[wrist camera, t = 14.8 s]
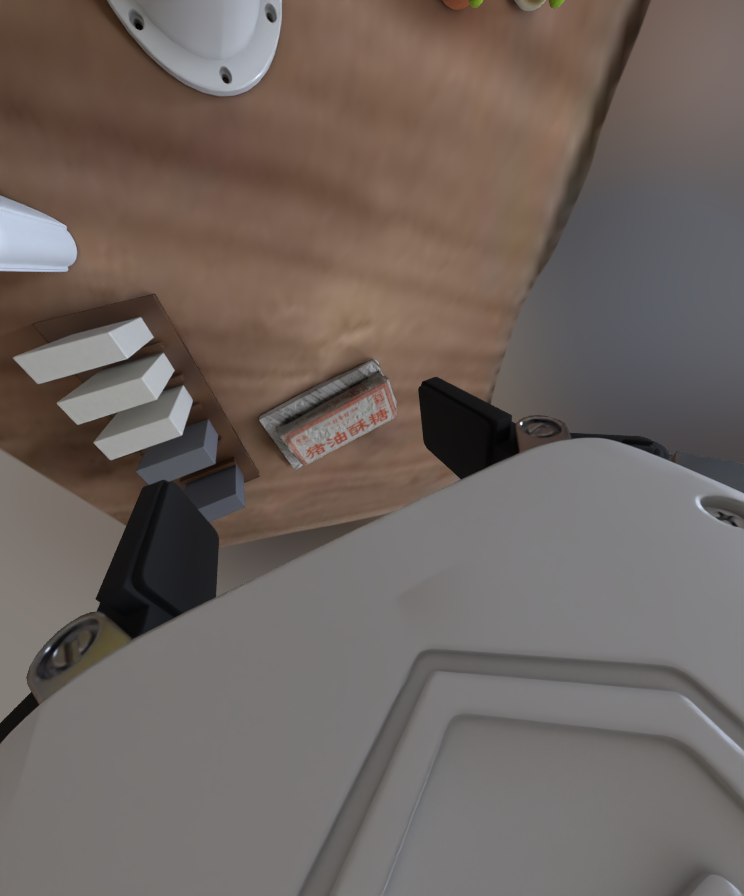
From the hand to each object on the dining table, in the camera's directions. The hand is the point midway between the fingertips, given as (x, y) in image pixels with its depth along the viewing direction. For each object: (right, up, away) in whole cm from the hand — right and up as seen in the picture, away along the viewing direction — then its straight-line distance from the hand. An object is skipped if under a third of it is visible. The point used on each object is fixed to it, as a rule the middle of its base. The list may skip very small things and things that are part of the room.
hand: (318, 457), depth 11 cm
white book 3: (-22, +6, +21) cm, 31 cm away
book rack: (-22, +4, +23) cm, 32 cm away
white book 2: (-22, +8, +19) cm, 30 cm away
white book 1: (-23, +11, +17) cm, 30 cm away
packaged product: (-4, +6, +31) cm, 32 cm away
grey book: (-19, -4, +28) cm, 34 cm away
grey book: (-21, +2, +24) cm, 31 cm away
